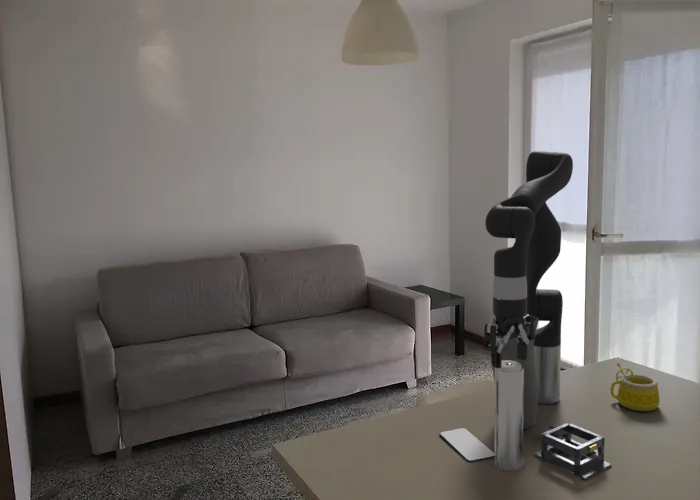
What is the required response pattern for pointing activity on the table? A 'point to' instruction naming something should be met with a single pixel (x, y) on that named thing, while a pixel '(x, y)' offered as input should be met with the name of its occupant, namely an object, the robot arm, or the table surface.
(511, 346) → the vase
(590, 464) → the collar bracket
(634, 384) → the mug
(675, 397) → the table surface
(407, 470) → the table surface
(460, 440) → the smartphone
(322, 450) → the table surface
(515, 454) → the silver metal cylinder
